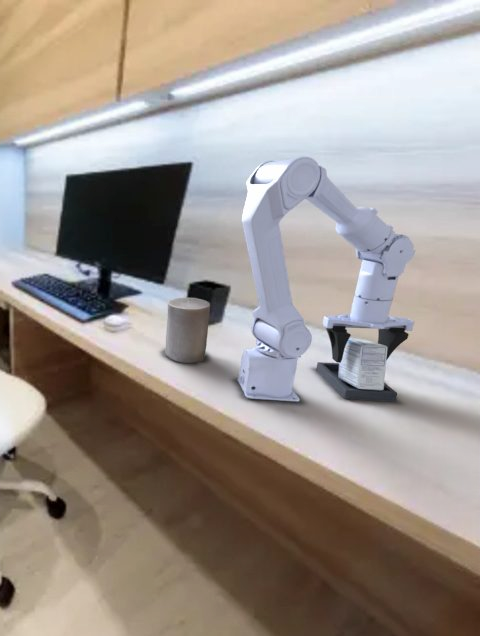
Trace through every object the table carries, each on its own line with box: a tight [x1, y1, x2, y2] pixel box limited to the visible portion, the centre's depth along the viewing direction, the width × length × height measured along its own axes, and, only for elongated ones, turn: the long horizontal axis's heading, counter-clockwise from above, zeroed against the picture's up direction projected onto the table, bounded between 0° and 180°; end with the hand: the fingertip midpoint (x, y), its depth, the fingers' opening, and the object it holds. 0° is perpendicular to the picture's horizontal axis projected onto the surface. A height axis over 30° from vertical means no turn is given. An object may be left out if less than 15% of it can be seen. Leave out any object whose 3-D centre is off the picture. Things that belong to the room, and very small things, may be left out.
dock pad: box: [315, 361, 399, 403], centre depth 78 cm, size 9×13×2 cm
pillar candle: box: [164, 297, 211, 364], centre depth 93 cm, size 10×10×15 cm
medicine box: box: [338, 338, 388, 391], centre depth 76 cm, size 8×4×9 cm, turn 166°
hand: (357, 361), depth 77 cm, fingers open, 7 cm apart
